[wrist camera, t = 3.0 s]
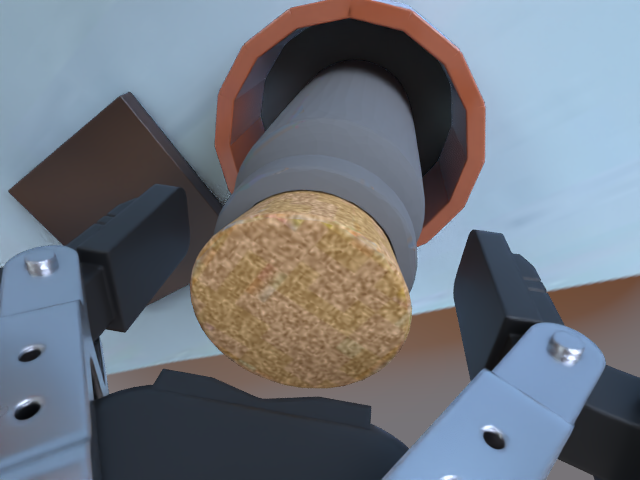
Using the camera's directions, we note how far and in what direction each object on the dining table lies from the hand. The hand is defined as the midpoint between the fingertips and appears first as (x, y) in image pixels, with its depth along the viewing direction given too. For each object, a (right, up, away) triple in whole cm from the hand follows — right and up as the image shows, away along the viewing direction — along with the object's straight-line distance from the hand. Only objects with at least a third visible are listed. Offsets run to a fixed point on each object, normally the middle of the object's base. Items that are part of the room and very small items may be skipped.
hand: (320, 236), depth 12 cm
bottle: (+2, +6, +10) cm, 12 cm away
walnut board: (-12, +2, +15) cm, 19 cm away
